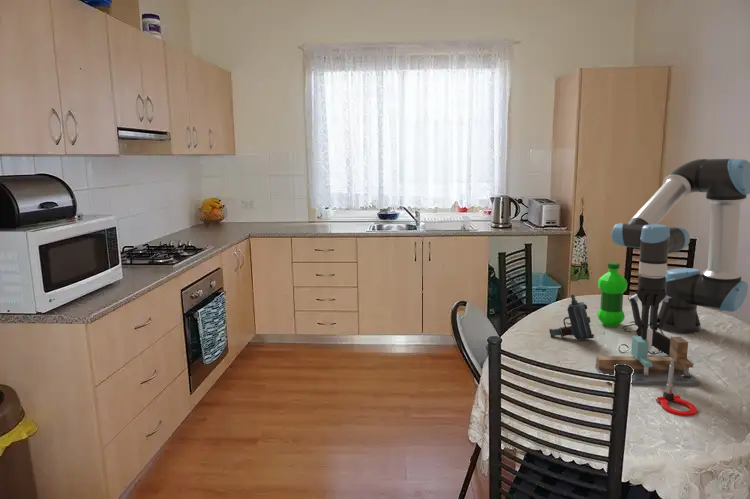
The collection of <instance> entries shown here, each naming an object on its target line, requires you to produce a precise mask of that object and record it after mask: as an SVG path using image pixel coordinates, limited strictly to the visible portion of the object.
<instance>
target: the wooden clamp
mask: <svg viewBox="0 0 750 499" xmlns="http://www.w3.org/2000/svg"><path fill="white" fill-rule="evenodd" d="M670 339H671V340H670V353H669V356H647V358H648V359H649V360H650V361H651V362H652V367H649V369H655V370H669V365H670V363H671V358H673V359H674V370H684V376H688V374H689V373H690V368H694V363H693V362H692V361H691V360H689V359H688V350H689V349H688V348H689V341H687V340H686V339H685V338H683V337H682V336H670ZM595 357H596V358H595V365H597V367H598V368H599V369H614V365H616V364H626V365H629V366H631V367H632V368H633V369H644V365H643V364H642V363H641V362H640V361H639V360H636V359H635V358H634V356H633V355H630V356H627V355H626V356H625V355H624V356H622V355H620V356H619V355H618V356H617V355H596V356H595Z"/></svg>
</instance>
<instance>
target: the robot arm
mask: <svg viewBox="0 0 750 499" xmlns="http://www.w3.org/2000/svg"><path fill="white" fill-rule="evenodd" d="M691 193H692V194H693V193H706V194H705V196H706V197H705V199H706V200H707V201H708V202H709V203H710V215H709V216H710V217H709V240H708V258H707V268H706V269H705V270H703V271H702V274H701V271H700V269H698V268H693V267H692V268H690V267H689V268H688V267H684V268H683V267H681V268H679V267H678V268H672V269H668V256H669V254H671V253H677V252H680V251H681V250H684V249H686V248H687V247H688V245H689V244H690V242H691V236H690V233H689V232H688V231H687V230H686V229H685V228H683V227H680V226H671V227H669V225H666V224H661V221H662V220H663V219H665V217H666V216H667V215H668V214H669V213H670V211H671V210H673V208H674V207H675V206H676V205H677V203H678V202H680V200H682V199H683V198H686V197H687V196H689V195H690V194H691ZM747 195H750V161H749V160H747V159H742V158H741V159H739V158H708V159H707V158H700V159H699V158H698V159H694V160H691V161H688V162H686V163H684V164H682V165H680V166H678V167H677V168H674V169H673V170H672V171H671V172H670V173H669V174H667V175H666V176H665V177H664V179H663V180H662V185H661V186H660V187H659V189H658V190H657V191H656V192H655V193H654V194H653V195H652V196H651V197H650V198H649V199H648V200H647V201H646V202H645V204H643V206H642V207H640V209H639V210H638V211H637V212H636V213H635V214H634V215H633V217H632V218H631V219H630V220H628V222H627V223H625V222H619V223H615V225H614V226H613V227H612V230H611V241H612V242H613V243H614V245H616V246H617V245H618V246H621V247H626V248H627V247H628V248H636V249H639V260H638V261H639V264H638V274H639V275H638V276H637V289H636V291H635V294H633V295H630V296H627V300H628V301H629V303H630V306H631V312H632V316H633V320H634V325H635V327H636V326H637V328H638V327H639V328H641V338H642V339H646V340H647V341H648V351H652V348H653V346H652V339H655V335H656V331H657V332H658V329H660V330H662V331H666V332H669V333H674V334H675V333H676V334H683V335H688V334H689V335H690V334H697V333H700V332H701V327H702V326H701V322H700V321H701V320H700V317H699V313H698V309H697V308H698V307H703V308H708V309H713V310H718V311H720V312H723V311H724V312H729V313H735V312H737V311H738V310H739V309H741V307H742V305H743V304H744V302H745V300H746V297H747V295H748V291H749V287H748V282H746V281H745V280H742V273H741V272H740V271H739V270H738V269H737V266H738V250H739V236H740V234H739V232H740V218H741V203H743V202H744V201H745V200H746V199H747ZM659 223H660V224H659ZM638 299H639V300H638ZM639 301H640V302H641V314H640V310H639V305H638V302H639ZM660 304H661V307H660ZM659 308H660V310H659Z"/></svg>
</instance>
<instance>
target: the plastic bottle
mask: <svg viewBox="0 0 750 499" xmlns="http://www.w3.org/2000/svg"><path fill="white" fill-rule="evenodd" d="M606 267H607V269H608V272H606V273H604V274H603V275H602V276H601V277H599V279H598V280H597V286H598V289H599V290H600V308H599V309H598V311H597V319H599V321H600V322H601V323H602V324H603V326H606V327H610V328H613V327H618V325H620V324H622V323H623V321H624V320H625V317H626V316H625V312H624V310H623V302H624V293H625V292H626V291H627V289H628V281H627V279H626V278H625V277H624V276H623V275H622V274H621V273H619V269H620V267H621V265H620V263H619V262H615V261H612V262H611V261H610V262H607V266H606Z"/></svg>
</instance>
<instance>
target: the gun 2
mask: <svg viewBox="0 0 750 499" xmlns="http://www.w3.org/2000/svg"><path fill="white" fill-rule="evenodd" d="M635 333H636V336H641V328H639V327H638V326H637V328H636V330H635ZM670 340H671V337H668V336H667V335H665V334H663V333H662V332H659V331H658V330H657V331H656V335H655V339H652V348H653V347H654V348H655V349H657V350H659V351H660V352H661V353H664V354H665V355H666V356H667V357H670V356H669V353H670Z"/></svg>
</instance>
